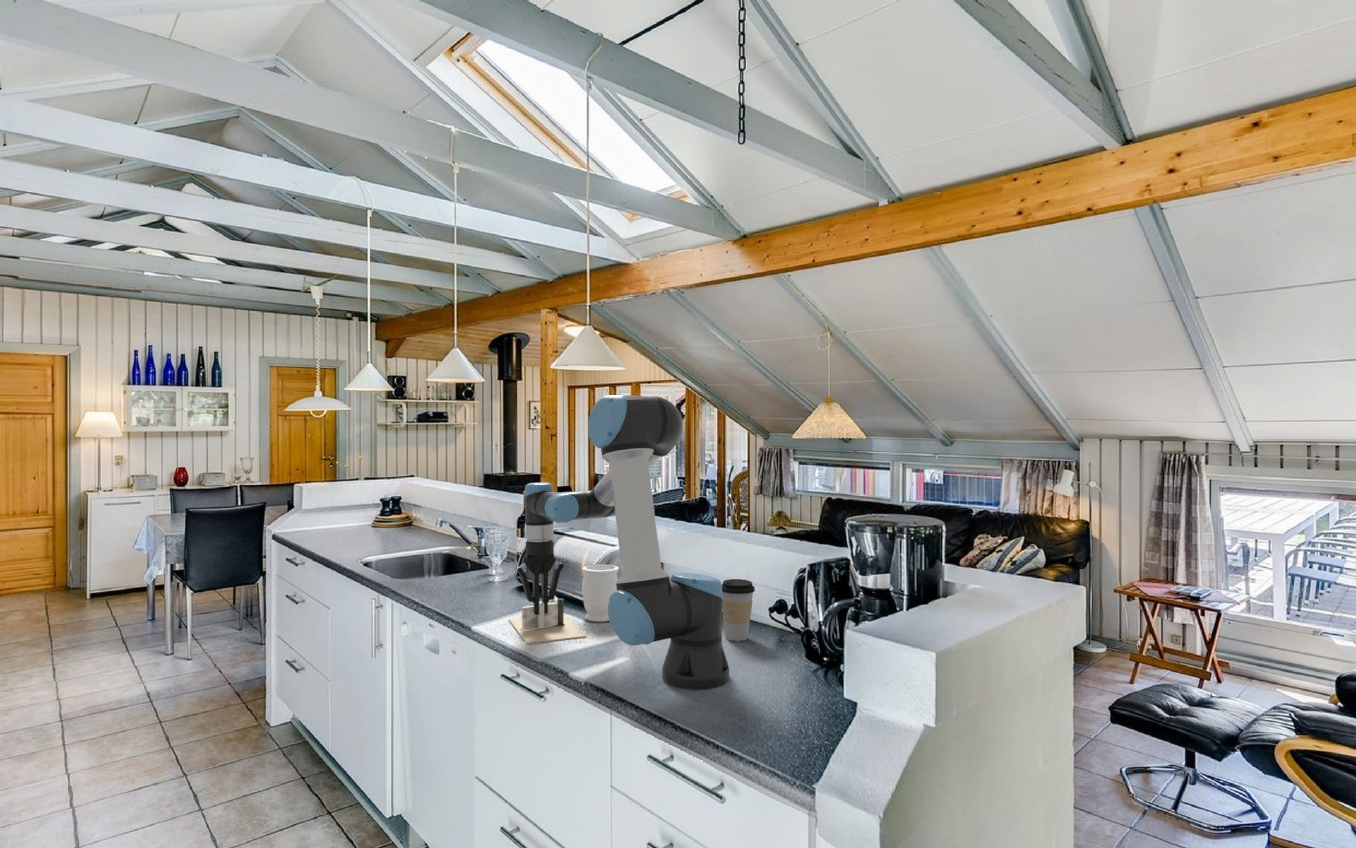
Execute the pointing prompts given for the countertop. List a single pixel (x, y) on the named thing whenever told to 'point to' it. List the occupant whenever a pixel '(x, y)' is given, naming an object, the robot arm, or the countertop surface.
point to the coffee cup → (737, 608)
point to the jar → (598, 590)
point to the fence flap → (550, 619)
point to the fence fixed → (554, 602)
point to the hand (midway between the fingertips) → (541, 626)
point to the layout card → (548, 632)
